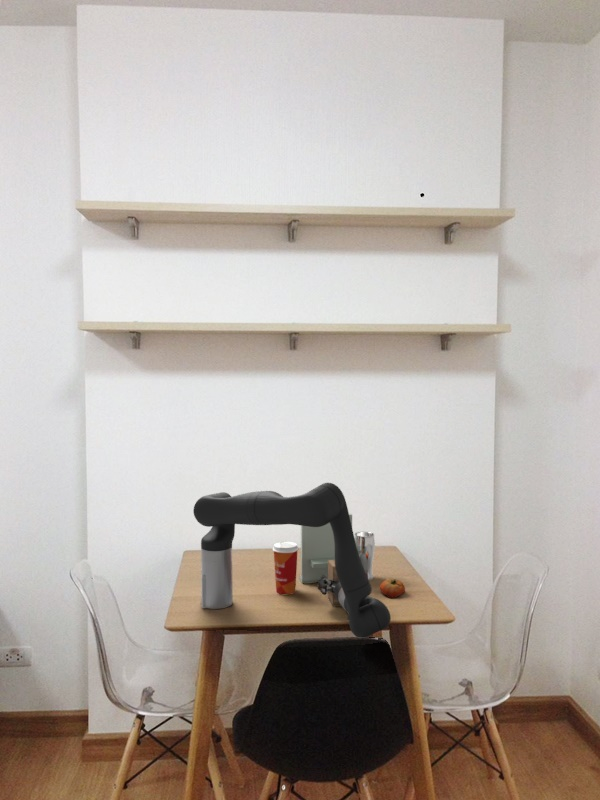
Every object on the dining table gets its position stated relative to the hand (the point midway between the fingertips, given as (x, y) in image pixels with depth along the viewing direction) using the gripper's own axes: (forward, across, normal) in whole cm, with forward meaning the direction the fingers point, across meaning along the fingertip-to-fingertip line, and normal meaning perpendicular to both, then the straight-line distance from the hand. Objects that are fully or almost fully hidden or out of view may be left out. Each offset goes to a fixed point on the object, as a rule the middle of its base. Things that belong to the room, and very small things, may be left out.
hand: (336, 577), depth 192 cm
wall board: (+16, -1, +7) cm, 18 cm away
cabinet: (-2, 0, +7) cm, 7 cm away
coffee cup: (+10, +14, +7) cm, 19 cm away
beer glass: (+17, -14, +7) cm, 23 cm away
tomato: (+1, -18, +7) cm, 20 cm away
